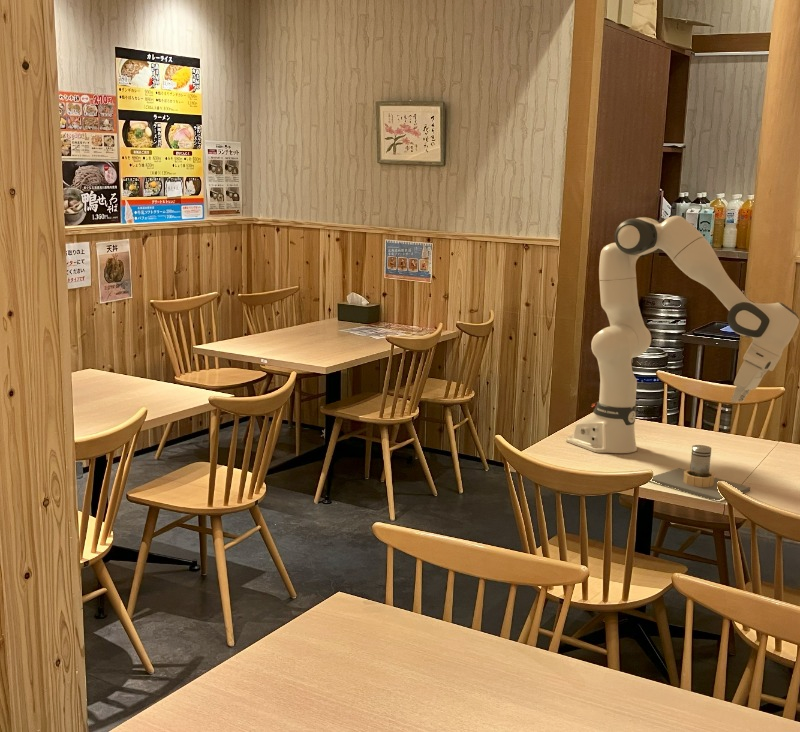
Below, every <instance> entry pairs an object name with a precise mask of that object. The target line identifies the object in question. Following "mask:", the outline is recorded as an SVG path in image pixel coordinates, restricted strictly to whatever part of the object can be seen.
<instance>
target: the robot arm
mask: <svg viewBox="0 0 800 732" xmlns="http://www.w3.org/2000/svg"><path fill="white" fill-rule="evenodd" d="M615 229H616V230H615V232H614V242H611V243H609V244H607V245H604V246H603V248H602V249H601V251H600V254H599V255H600V256H599V263H598V264H599V266H598V279H599V295H600V305H601V308H602V309H603V311H604V312H605V313H606V314H605V315H606V316H607V319H608V322H609V326H607V327H604V328H602V329H601V330H599V331H598V332H597V333H595V334H594V336H593V337H592V339H591V344H590V345H591V348H590V349H591V352H592V354H593V355H594V357H595V358H596V360H597V365H598V370H599V379H600V382H599V397H598V399H599V400H598V401H596V402H594V403H591V406H590V407H591V408H594V409H593V412H592V413H590V414H588V415H587V416H585V417H584V418H582V419H580V420H578V422H577V423H576V424H575V427H574V430H573V434H570V435H568V436H567V437H566V439H565V442H566V443H568V444H569V443H570V444H573V445H575V446H578V447H580V448H583V449H586V450H589V451H591V452H595V453H598V454H601V453H604V454H605V453H606V454H607V453H608V454H630V453H635V452H636V451H637V450H638V447H637V443H636V435H635V433H636V432H635V423H636V422H635V421H636V417H637V405H636V399H637V387H638V380H637V378H636V376H635V375H634V372H633V365H632V360H633V358H637V357H639V356H641V355H643V354H644V353H645V352H646V351H647V350H648V349H649V348H650V346H651V344H652V335H651V332H650V330H649V329H648V328H647V327H646V325H645V321H644V319H643V316H642V313H641V308H640V306H639V298H638V297H639V296H638V287H637V286H638V285H637V271H636V264H637V261H638V259H639V258H644V257H646V256H649V255H651V254H654V253H655V252H657V251H659V250H662V251H663V252H664V253H665V254H666V255H667V256H668V257H669V259H670V260H671V261H672V262H673V263H674V265H675V266H676V267H677V268H678V269H679V270H680V271H682V273H683V274H684V275H686V277H687V276H688V278H690V279H691V280H693V281H696V282H698V283H699V284H701V285H702V286H704V287H706V288H707V289H708V290H710V292H712V293H713V295H715V296H716V298H717V299H718V300H719V301H720V302H721V303H722V305H723V306H724V307H725V308H726V309H727V310H728V313H727V317H726V319H727V320H726V321H727V323H728V326H729V328H730V329H731V330H732V331H733V332H734V333H735V334H737V335H740V336H743V337H745V338H750V339H752V340H751V342H750V344H749V345H748V348H747V349H746V352H745V353H744V355H743V358H742V359H743V362H742V364H741V365H740V367H739V370H738V372H737V374H736V376H735V379H734V381H733V386H735V388H734V391H733V394H732V395H731V397H730V401H731V402H732V403H738V402H741V403H742V402H744V400H745V399H746V397H747V396H748V395H749V394H750V392H751V390H756V389H757V388H758V386H759V385H760V383H761V381H762V379H763V378H764V375H766V374H767V372H768V371H770V372H773V371H774V369H775V368H776V366H777V365H778V362H779V361H780V359H781V358H782V356H783V351H784V350H785V348H786V347H787V346H788V345H789V344H790V342H791V340H792V339H793V336H794V335H795V332H796V331H797V329H798V326H799V322H800V319H799V318H800V317H799V316H798V314H797V312H795V311H794V310H793V309H791V308H790V307H789V306H788V305H786V304H784V303H782V302H779V301H778V302H773V303H759V302H755V301H752V300H751V299H749V298H748V297H747V296H746V295H745V294H744V292H743V291H741V289H740V288H739V287H738V286H737V284H736V283H735V282H734V281H733V280H732V279H731V278H730V276H729V275H728V273H727V272H726V270H725V269H724V267H723V265H722V263H721V261H720V260H719V259H720V258H719V257H718V256H717V253H716V252H715V250H714V248H713V247H712V245H711V244H710V242H708V240H707V239H706V238H705V237H704V235H703V234H702V233H701V232H700V231H699V230H698V229H697V228H696V227H695V226H694V225H693V224H692V223H691V222H689V221H688V220H687V219H686V218H685V217H683V216H680V215H672V216H669V217H667V218H666V219H664V220H663V221H662V222H661V221H660V220H658V219H656V218H653V217H645V216H642V217H641V216H639V217H636V218H628V219H626V220H624V221H622V222H621V223H620V224H619V225H618V226H617V228H615Z"/></svg>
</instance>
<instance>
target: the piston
mask: <svg viewBox="0 0 800 732" xmlns="http://www.w3.org/2000/svg"><path fill="white" fill-rule="evenodd" d="M711 457H712V447H711V446H708V445H704V444H693V445H692V447H691V456H690V468H689V470H690V475H692V476H696V477H709V472H710V466H711Z"/></svg>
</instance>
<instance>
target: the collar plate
mask: <svg viewBox="0 0 800 732" xmlns="http://www.w3.org/2000/svg"><path fill="white" fill-rule="evenodd" d="M652 476H653V479H652V481H655V482H657V483H660V484H662V485H666V486H669V487H673V488H676V489H679V490H681V491H680V492H683V491H685V492H684V493H686V492H688V493H687V494H689V493H691V494H690V495H693V494H695V495H694V496H696V495H698V496H697V497H700V496H702V497H701V498H703V497H705V498H704V499H707V498H709V499H708V500H710V499H715V500H720V499H722V498H723V497H722V496H721V495H720V493H719V492H718V489H717V482H718V481H725V482H727V483H728V484H730V485H732V486H733V487H735V488H737V489H738V490H740V491H741V492H743V493H742V494H745V493H748V492H750V491H751V487H750V486H747V485H744V484H741V483H736V482H733V481H728V480H725V479H722V478H718V477H715V473H713V472H711V471H709V477H696V476H692V475H690V469H684V468H680V467H677V468H675V469H671V470H668V471H665V472H662V473H659V474H655V475H652ZM662 485H661V486H662ZM669 487H668V488H669ZM676 489H675V490H676ZM679 490H678V491H679Z"/></svg>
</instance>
